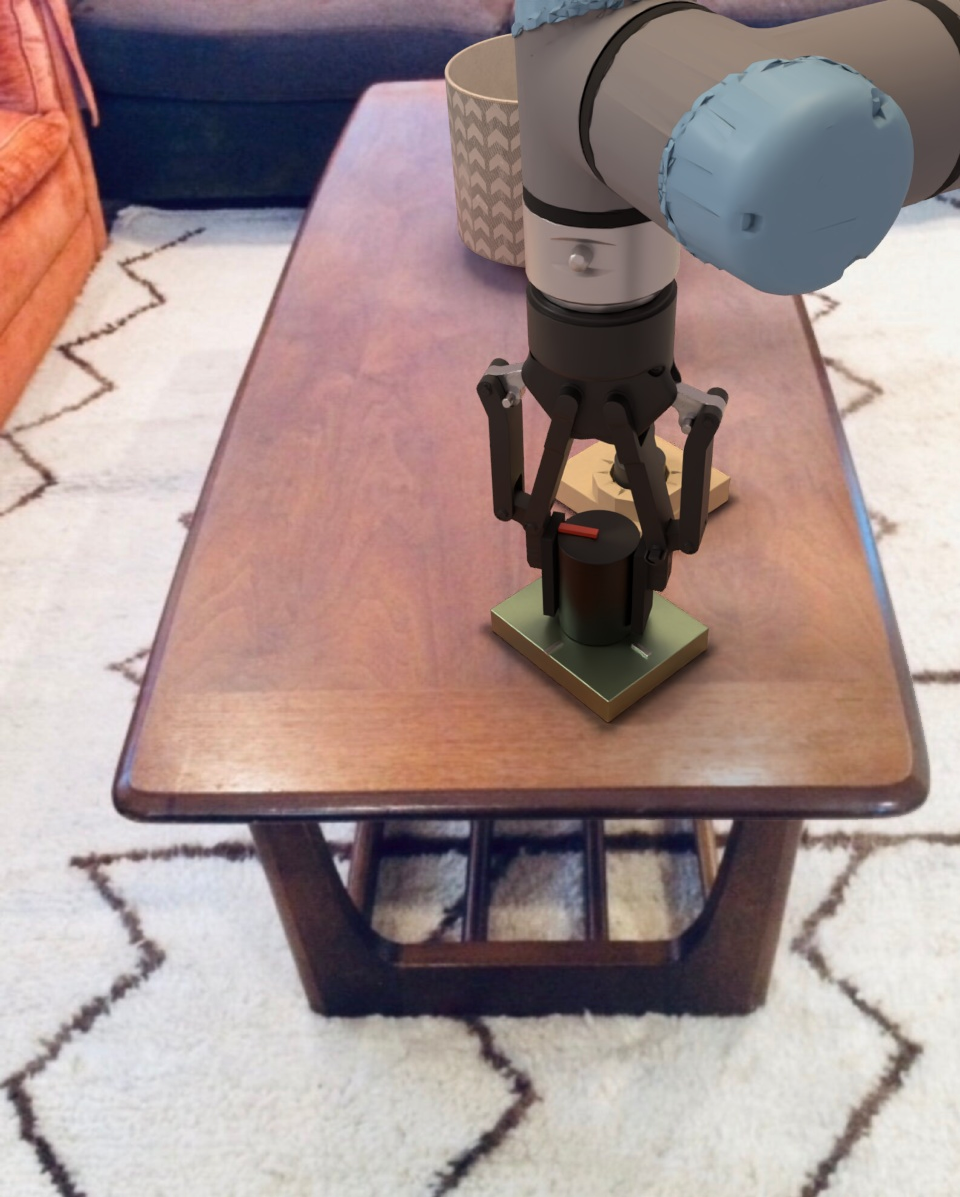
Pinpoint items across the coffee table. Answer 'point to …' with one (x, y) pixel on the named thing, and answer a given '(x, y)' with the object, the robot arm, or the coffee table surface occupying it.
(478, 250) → the planter
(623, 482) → the button
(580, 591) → the knob
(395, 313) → the coffee table surface
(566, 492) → the button box
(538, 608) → the dial panel
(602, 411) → the robot arm
